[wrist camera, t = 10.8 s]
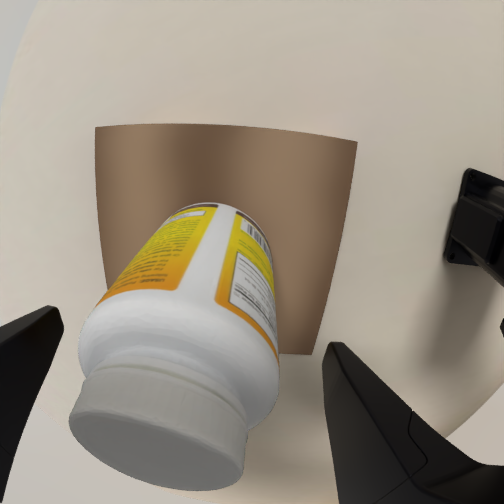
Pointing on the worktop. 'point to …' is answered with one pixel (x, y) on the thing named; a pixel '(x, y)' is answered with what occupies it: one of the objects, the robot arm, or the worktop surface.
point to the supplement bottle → (182, 353)
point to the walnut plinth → (232, 201)
